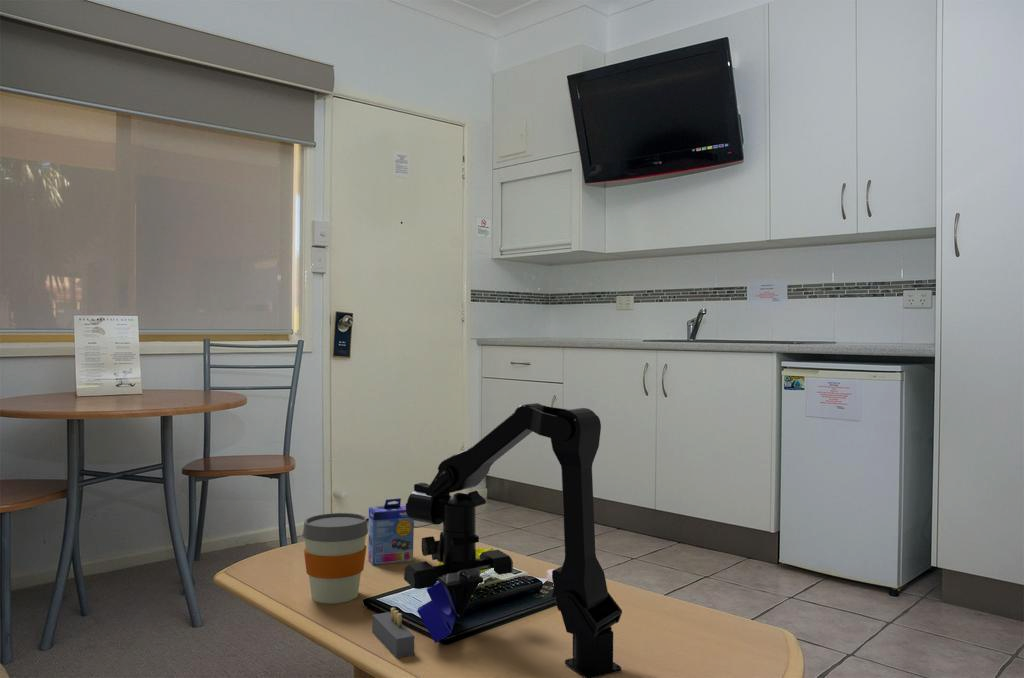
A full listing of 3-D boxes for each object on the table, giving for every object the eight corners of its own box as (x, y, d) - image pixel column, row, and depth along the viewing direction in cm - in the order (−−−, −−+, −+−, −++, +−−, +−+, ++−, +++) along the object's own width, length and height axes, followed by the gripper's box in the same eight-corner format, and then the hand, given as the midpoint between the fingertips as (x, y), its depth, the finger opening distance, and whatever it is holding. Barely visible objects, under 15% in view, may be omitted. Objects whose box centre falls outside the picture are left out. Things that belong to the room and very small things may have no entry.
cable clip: (436, 620, 134) (420, 591, 134) (458, 608, 134) (442, 579, 134) (427, 647, 122) (409, 615, 122) (450, 634, 122) (432, 602, 122)
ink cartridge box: (372, 566, 166) (373, 501, 166) (366, 559, 171) (367, 497, 171) (414, 561, 170) (415, 498, 171) (407, 555, 175) (408, 493, 176)
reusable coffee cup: (319, 611, 138) (319, 530, 138) (291, 593, 147) (292, 518, 147) (378, 597, 146) (379, 521, 146) (349, 581, 155) (349, 509, 155)
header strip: (415, 654, 119) (415, 623, 119) (396, 658, 117) (396, 626, 117) (389, 629, 129) (389, 600, 129) (372, 632, 128) (372, 603, 128)
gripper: (486, 512, 142) (486, 593, 142) (393, 524, 133) (393, 611, 133) (514, 525, 132) (514, 613, 132) (415, 540, 123) (415, 633, 123)
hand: (459, 616), depth 130 cm, fingers closed
